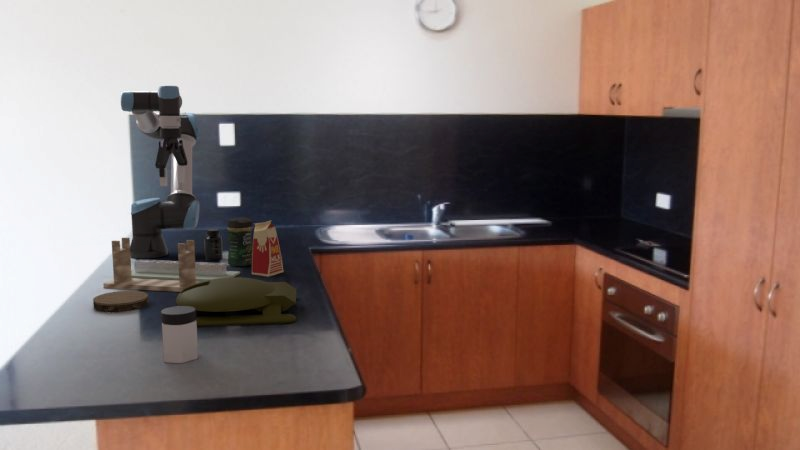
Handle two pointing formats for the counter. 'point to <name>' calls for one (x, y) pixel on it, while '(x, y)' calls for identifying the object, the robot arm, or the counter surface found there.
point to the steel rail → (173, 267)
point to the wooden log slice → (120, 301)
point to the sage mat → (176, 276)
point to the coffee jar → (240, 241)
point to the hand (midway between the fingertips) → (172, 184)
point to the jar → (179, 334)
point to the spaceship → (240, 301)
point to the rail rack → (127, 282)
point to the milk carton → (266, 250)
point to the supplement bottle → (213, 245)
